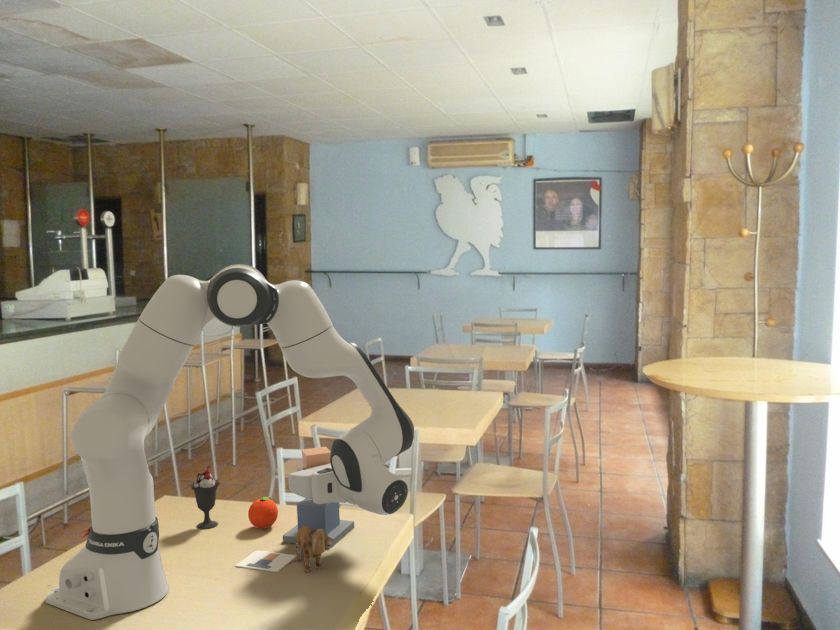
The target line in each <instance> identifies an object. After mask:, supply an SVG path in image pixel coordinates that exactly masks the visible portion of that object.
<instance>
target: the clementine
mask: <svg viewBox="0 0 840 630" xmlns="http://www.w3.org/2000/svg"><path fill="white" fill-rule="evenodd" d="M248 508H249V509H248V511H247V512H248V514H247V516H248V520H249V522H250V523H251V525H252V526H254V528H257V529H267V528H270V527H272V525H274V524H275V523H276V521H277V519H278V517H279V516H278V515H279V508H278V506H277V504H276V503H275V502H274V500H273V499H272V497H271V496H269V497H268V496H263V497H261V498H258V499H255V501H253V502H252V503H251V504H250V506H249V507H248Z"/></svg>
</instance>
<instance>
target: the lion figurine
mask: <svg viewBox="0 0 840 630" xmlns="http://www.w3.org/2000/svg"><path fill="white" fill-rule="evenodd" d="M332 541H333V539H332V538H330V537H328V535H327V534H325V531H324V530H323V529H316V530H313V531H311V528H310V527H308V526H303V527H301V528H300V529H299V530H298V533H297V544H296V545H295V547H294V549H296V550H297V551H296V555H297V556H296V558H295V561H300V560H302V555H301V553H302V552H303V559H304V560H303V561H304V572H305V573H310V572H311V571H312V569H311V568H312V567H311V564H310V559H313V560H314V559H315V560H314V566H315V568H317V569H321V568H323V564H320V560H321V556H322V555H323V554H324V553H325V552H326V548H327V549H331V548H330V545H331V544H332ZM301 549H302V550H303V551H302V550H301Z"/></svg>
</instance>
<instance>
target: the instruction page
mask: <svg viewBox="0 0 840 630" xmlns="http://www.w3.org/2000/svg"><path fill="white" fill-rule="evenodd" d="M296 556H297V554H288V553H282V552H280V553H279V552H273V551H266V550H257V549H256V550H255V551H254V552H251V554H249V555H248V556H246V557H245V558H243V559H242V560H241V561H239V562H238V563H237V564H235V567H237V568H243V569H251V570H258V571H266V572H271V573H272V572H273V573H279V571H280V570H283V568H285V567H286V566H287V565H288V564H290V563H291V562H292V561H293V560H294V559H296Z"/></svg>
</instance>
